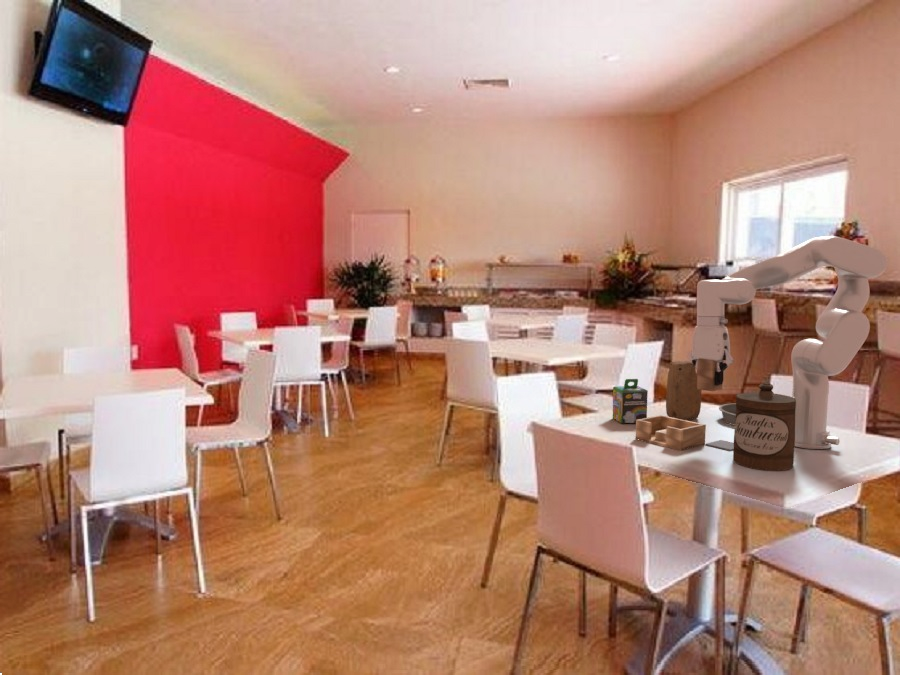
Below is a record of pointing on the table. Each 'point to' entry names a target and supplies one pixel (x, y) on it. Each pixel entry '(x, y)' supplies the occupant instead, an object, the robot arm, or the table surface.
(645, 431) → the oak crate
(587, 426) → the table surface
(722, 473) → the table surface
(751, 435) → the wooden container
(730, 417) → the cake pan
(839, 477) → the table surface
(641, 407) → the chalk box
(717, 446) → the grey pad
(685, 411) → the brown tall rounded lump
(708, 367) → the walnut block
